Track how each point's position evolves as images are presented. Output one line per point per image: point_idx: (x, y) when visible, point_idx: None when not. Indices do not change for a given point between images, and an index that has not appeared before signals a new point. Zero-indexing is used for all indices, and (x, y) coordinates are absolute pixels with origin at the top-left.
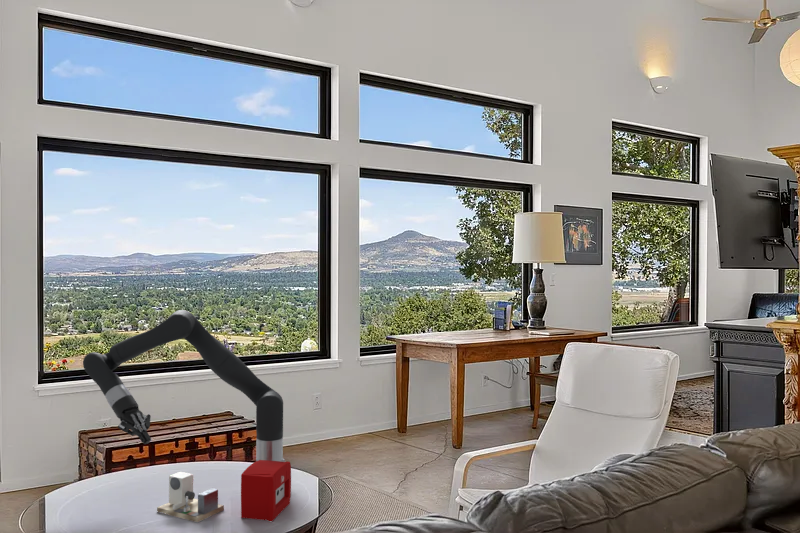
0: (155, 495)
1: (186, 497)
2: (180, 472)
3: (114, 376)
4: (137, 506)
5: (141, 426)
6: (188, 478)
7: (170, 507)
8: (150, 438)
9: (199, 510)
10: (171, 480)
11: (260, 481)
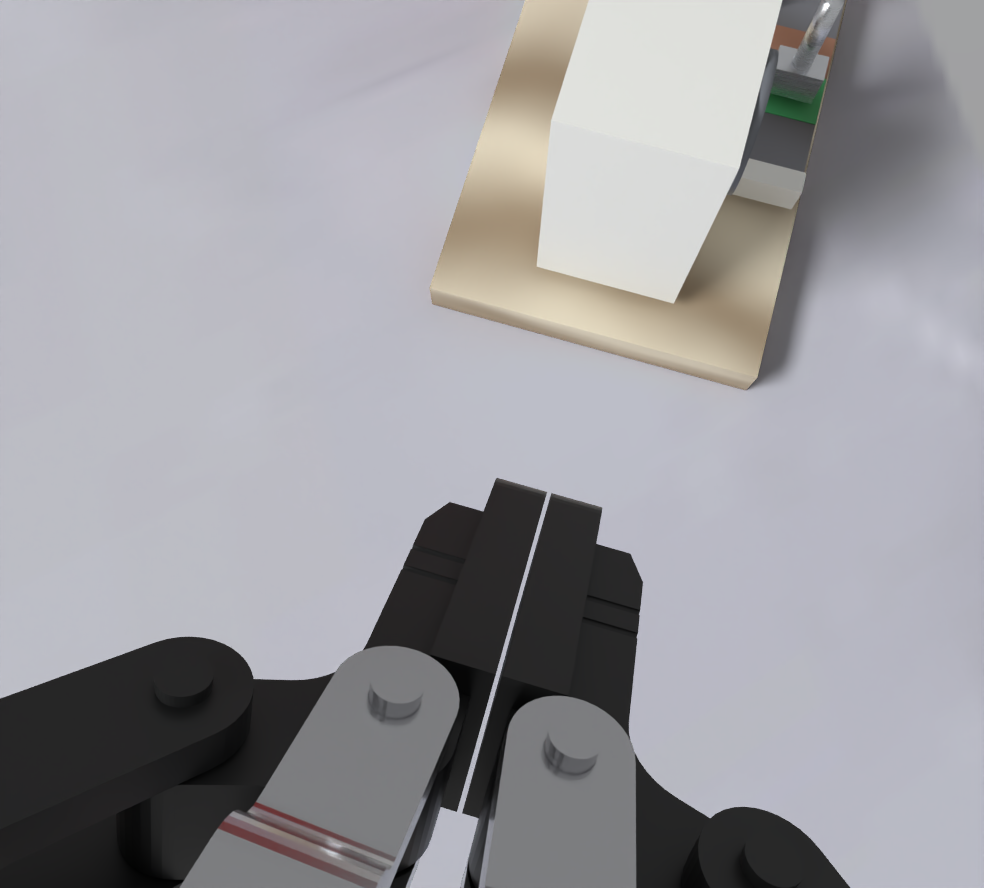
0: (363, 620)
1: (841, 3)
2: (584, 103)
3: None
4: (673, 632)
5: (405, 846)
6: None
7: (724, 268)
8: (454, 508)
9: None
10: (749, 153)
11: None
